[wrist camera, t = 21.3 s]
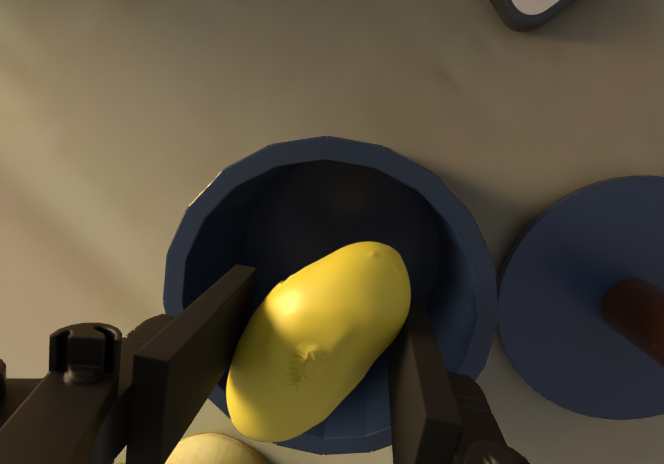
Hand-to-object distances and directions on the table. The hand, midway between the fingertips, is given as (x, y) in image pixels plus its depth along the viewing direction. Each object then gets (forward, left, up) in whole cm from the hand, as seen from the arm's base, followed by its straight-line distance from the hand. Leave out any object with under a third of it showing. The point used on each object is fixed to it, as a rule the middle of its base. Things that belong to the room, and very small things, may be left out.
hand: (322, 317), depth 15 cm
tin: (0, 0, -9) cm, 9 cm away
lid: (0, +15, -9) cm, 18 cm away
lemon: (0, 0, 0) cm, 1 cm away
